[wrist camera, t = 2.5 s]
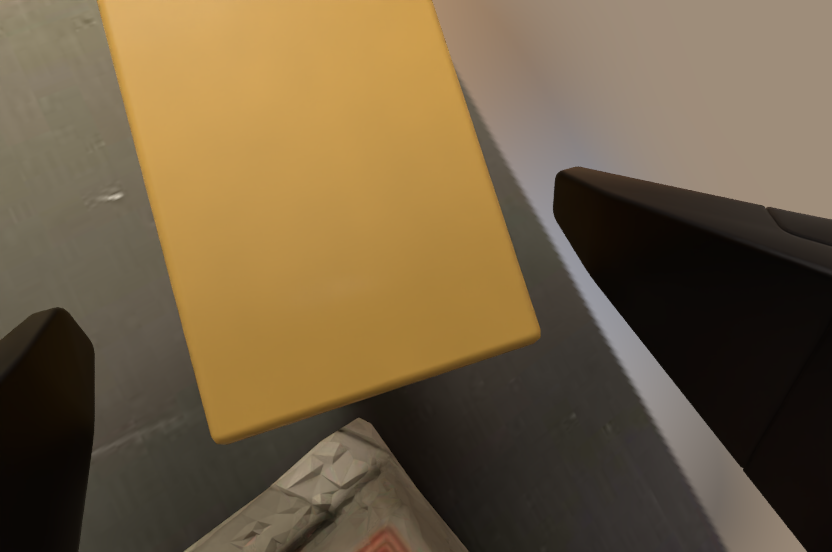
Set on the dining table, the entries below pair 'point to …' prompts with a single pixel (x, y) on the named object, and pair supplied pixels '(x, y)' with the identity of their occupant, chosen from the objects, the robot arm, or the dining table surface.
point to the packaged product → (337, 505)
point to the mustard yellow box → (315, 200)
